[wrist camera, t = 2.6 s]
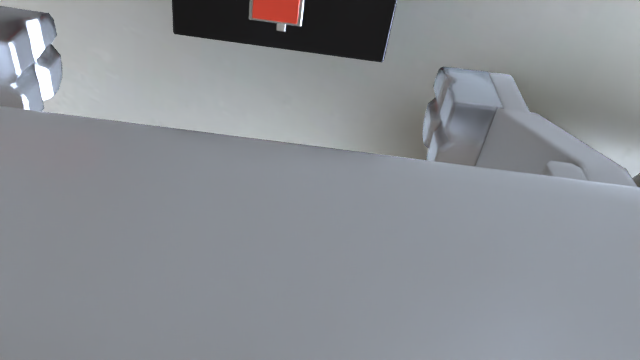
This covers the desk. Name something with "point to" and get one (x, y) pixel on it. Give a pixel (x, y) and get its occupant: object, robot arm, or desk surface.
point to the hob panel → (312, 36)
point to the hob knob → (277, 11)
